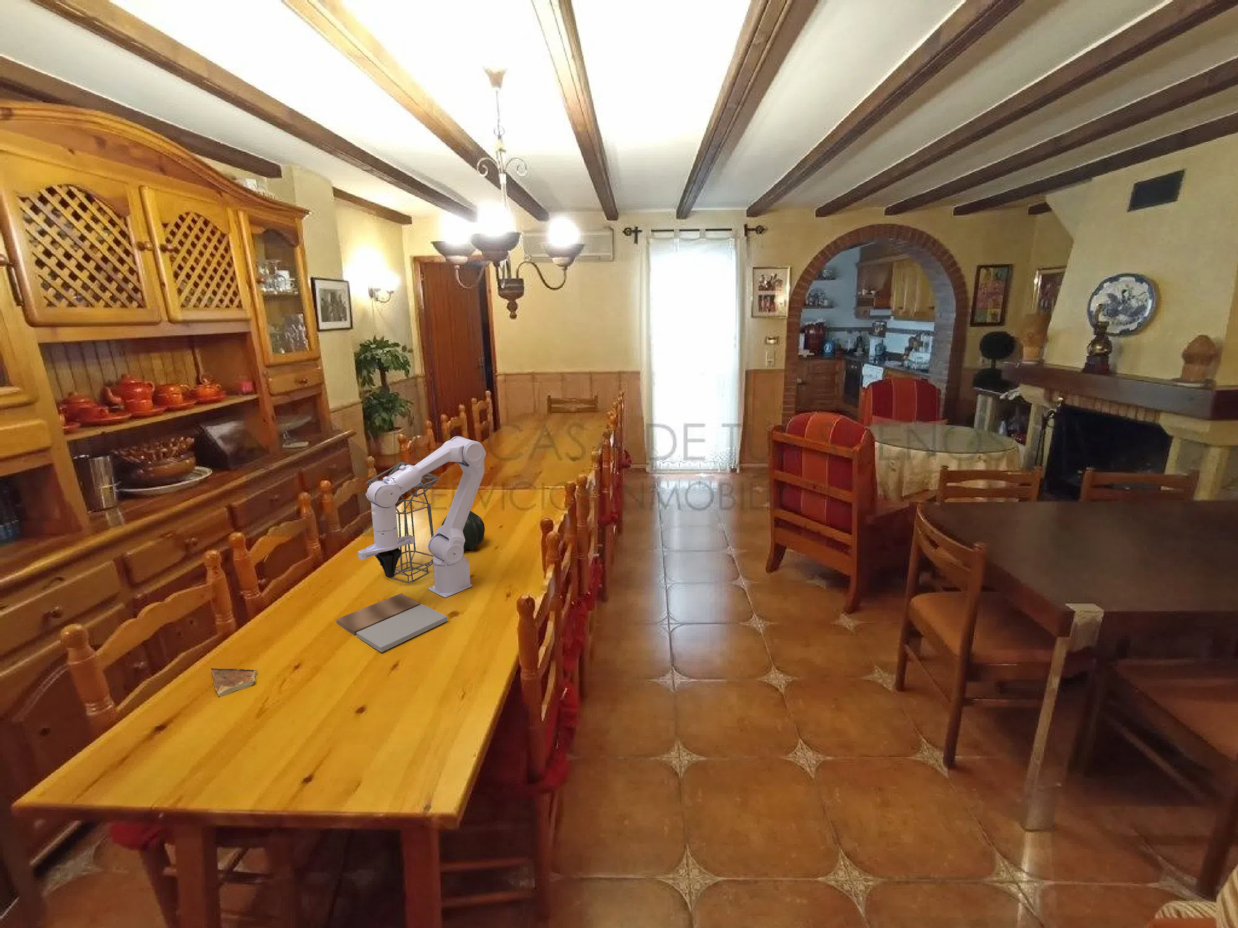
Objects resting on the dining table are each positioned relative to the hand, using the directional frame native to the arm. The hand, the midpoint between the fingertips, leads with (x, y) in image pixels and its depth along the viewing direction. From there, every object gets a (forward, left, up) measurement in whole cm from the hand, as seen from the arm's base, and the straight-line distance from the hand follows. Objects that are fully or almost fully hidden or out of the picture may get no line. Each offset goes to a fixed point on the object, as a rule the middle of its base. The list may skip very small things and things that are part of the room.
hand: (389, 576), depth 145 cm
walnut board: (+4, +1, -9) cm, 10 cm away
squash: (-38, -20, -10) cm, 44 cm away
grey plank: (+4, +11, -9) cm, 15 cm away
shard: (+39, +2, -10) cm, 40 cm away
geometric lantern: (-15, -15, -10) cm, 23 cm away
